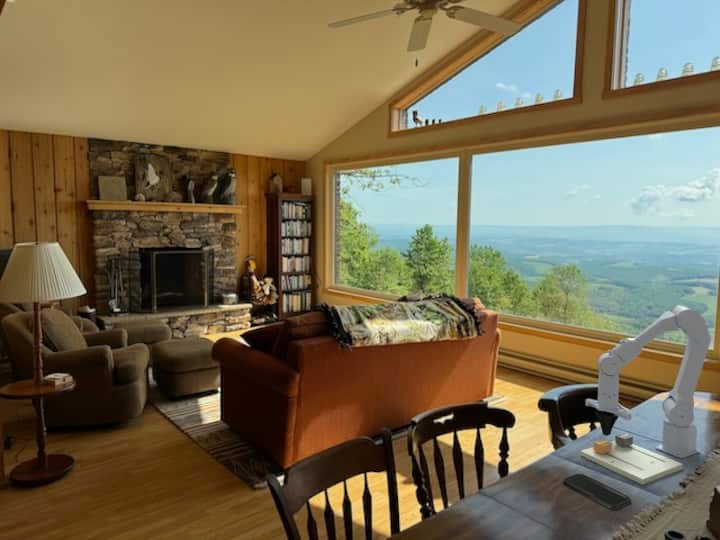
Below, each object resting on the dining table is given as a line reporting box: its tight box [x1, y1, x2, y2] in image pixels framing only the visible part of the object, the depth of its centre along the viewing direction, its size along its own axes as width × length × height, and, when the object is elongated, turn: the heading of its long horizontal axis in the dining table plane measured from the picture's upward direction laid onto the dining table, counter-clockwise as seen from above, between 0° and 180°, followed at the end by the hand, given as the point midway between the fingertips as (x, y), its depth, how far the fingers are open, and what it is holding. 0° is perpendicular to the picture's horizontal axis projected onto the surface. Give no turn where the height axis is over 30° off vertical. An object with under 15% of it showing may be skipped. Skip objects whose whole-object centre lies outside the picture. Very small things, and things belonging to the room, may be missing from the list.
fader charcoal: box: [614, 432, 634, 447], centre depth 151 cm, size 4×3×2 cm
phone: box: [562, 473, 632, 510], centre depth 127 cm, size 8×1×15 cm
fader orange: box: [593, 439, 612, 454], centre depth 146 cm, size 4×3×2 cm
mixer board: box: [580, 439, 683, 485], centre depth 143 cm, size 18×19×2 cm
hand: (606, 434), depth 156 cm, fingers closed
